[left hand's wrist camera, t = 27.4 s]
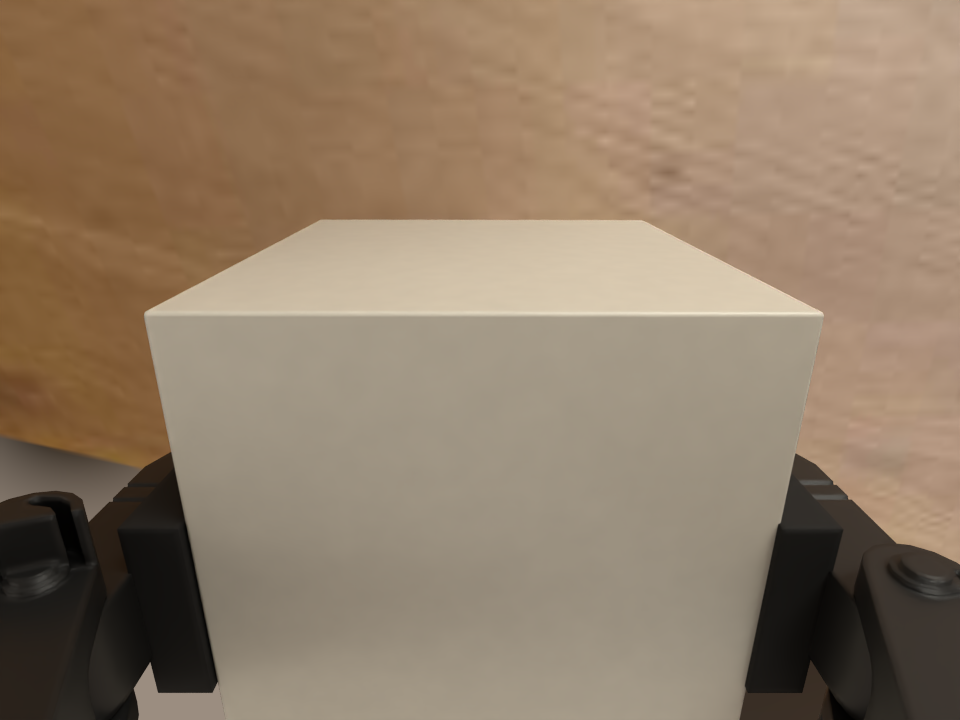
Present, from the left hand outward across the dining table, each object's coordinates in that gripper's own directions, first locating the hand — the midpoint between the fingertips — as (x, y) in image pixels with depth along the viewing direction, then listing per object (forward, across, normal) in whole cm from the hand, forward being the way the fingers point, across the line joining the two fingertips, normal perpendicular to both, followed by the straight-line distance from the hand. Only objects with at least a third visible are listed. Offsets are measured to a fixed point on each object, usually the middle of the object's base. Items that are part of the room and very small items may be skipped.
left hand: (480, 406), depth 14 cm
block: (+1, 0, 0) cm, 1 cm away
